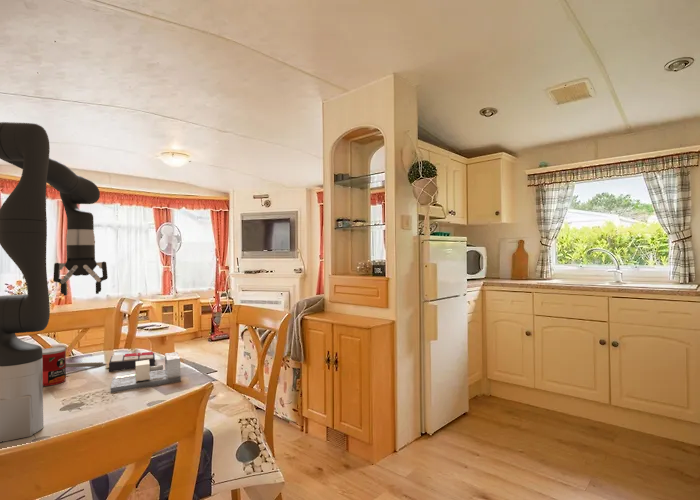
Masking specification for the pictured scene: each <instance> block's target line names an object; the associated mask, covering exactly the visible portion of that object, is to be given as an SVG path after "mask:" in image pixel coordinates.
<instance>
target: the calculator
mask: <svg viewBox="0 0 700 500" xmlns="http://www.w3.org/2000/svg"><path fill="white" fill-rule="evenodd" d="M155 355H156V354H155V353H154V351H146V352H134V353H133V352H131V353H125V354H113V355H112V356H111V357H110V360H109V362H108V373H111V372H117V371H123V370H131V369H132V370H133V368H134V369H136V361H143V360H149V363H150V367H151V366H154V365H155V363H156V362H155V360H156V357H155ZM155 366H156V365H155Z"/></svg>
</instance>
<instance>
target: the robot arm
mask: <svg viewBox="0 0 700 500" xmlns="http://www.w3.org/2000/svg"><path fill="white" fill-rule="evenodd" d="M0 160H2V161H4V162H6V163H8V164H10V165H12V166H14V167H17V168H20V169H21V170H22V173H21V176H20V179H19V181H18V183H17V184H16V186H15V187H14V189H13V190H12V191H11V193H10V194H9V195H8V197H7V198H6V199H5V201H4V202H3V204H2V205H1V206H0V246H1V248H2V249H3V251H4V252H5V254H7V255H8V257H9V258H10V259H11V260H12V262H13V263H14V264H15V265H16V266H17V268H18V269H19V271H20V272H21V274H22V275H23V278H24V280H25V284H26V288H27V294H26V293H25V294H7V295H0V443H2V441H3V442H7V441H12V440H17V439H23V438H29V437H31V436H33V434H35V433H38V432H39V431H41V430H42V429H43V428H44V426H45V425H44V386H43V361H42V349H43V348H42V347H41V346H40V345H38V344H34V343H30V342H27V341H25V340H21V338H19V337H18V336H17V335H16V334H23V333H24V334H25V333H35V332H36V333H37V332H42V331H44V330H45V329H47V326H48V324H49V321H50V317H51V316H50V312H51V310H50V309H51V307H50V293H49V283H48V275H47V273H48V272H47V240H48V238H47V237H48V234H47V233H48V229H47V228H48V226H47V225H48V220H47V184H48V185H49V186H51V187H52V188H53V189H54V190H56V191H58V192H59V196H60V200H61V202H62V205H63V207H64V208H63V209H64V212H65V215H66V224H67V225H66V261H65V263H63V262H62V263H61V262H55V263H54V264H53V277H52V279H53V282H55V283H59V284H60V294H61V295H63V296H68V283H67V281H68V280H70V278H71V277H72V276H74V277H79V276H91V277H92V279H94V280H95V294H96V295H99V293H100V292H101V291H102V282H103V281H106V280H107V279H109V278H108V267H107V262H106V261H101V262H100V261H98V262H97V261H96V251H95V250H96V246H95V245H96V239H95V225H94V214H93V213H91V212H89V211H85V210H80V208H79V207H78V205H92V204H95V203H97V202H98V201H99V199H100V198H101V192H100V189H99V187H98V186H97V185H96V184H95V182H93V181H92V180H89V179H88V178H85V177H84V176H81V175H78V174H77V173H75V172H74V171H73V170H72V169H71V168H69V166H67V165H66V164H64V163H62V162H61V161H58V160H56V159H54V158H51V157H50V139H49V135H48V132H47V131H46V129H45V128H44V126H42V125H40V124H38V123H34V122H15V121H14V122H10V121H9V122H7V121H6V122H5V121H2V122H1V121H0ZM64 267H65V269H66V270H68V272H67V273H66V274H65V275H64V277H63V278H60V276H61V275H60V274H61V271H62V270H63V269H64ZM96 267H98V268H99V269H101V271H102V272H101V273H102V276H101V277H100V276H99V275H98V274H97V273H96V272H95V271H94V270H95V268H96Z"/></svg>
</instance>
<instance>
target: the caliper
mask: <svg viewBox="0 0 700 500" xmlns="http://www.w3.org/2000/svg"><path fill="white" fill-rule="evenodd" d="M106 365H108V364H107V363H104V362H102V361H99V362H98V361H97V362H94V361H93V362H66V369H68V368H89V367H91V368H93V367H94V368H96V367H98V368H99V367H102V366H106Z"/></svg>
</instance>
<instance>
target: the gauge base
mask: <svg viewBox="0 0 700 500" xmlns="http://www.w3.org/2000/svg"><path fill="white" fill-rule="evenodd" d="M164 361H165V362H164V367H165V369H163V370H158V371H151V372H150V379H148V380H142V381H136V373H133V374H127V375H120V376H114V377H112V379H111V384H110V393H111V394H112V393H119V392H124V391H125V392H126V391H129V390H130V391H131V390H137V389H143V388H149V387H156V386H162V385H167V384H168V385H169V384H173V383H180V382H182V377H181V356H180V354H179V352H178V351H175V352H166V353H164Z"/></svg>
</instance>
